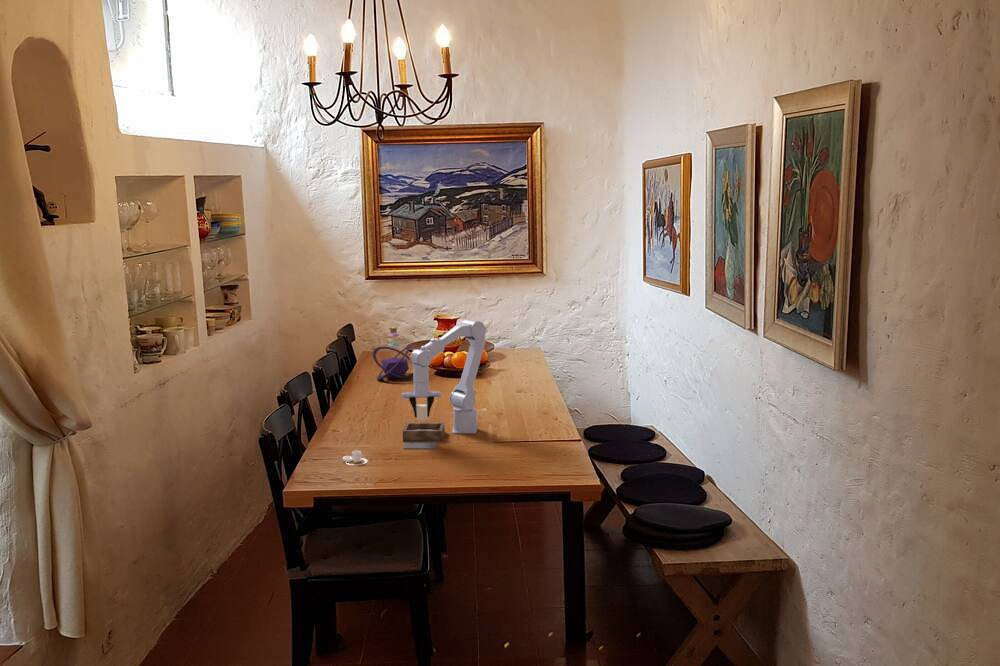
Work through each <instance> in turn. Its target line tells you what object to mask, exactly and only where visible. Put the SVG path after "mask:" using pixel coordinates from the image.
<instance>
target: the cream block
mask: <svg viewBox="0 0 1000 666" xmlns="http://www.w3.org/2000/svg"><path fill="white" fill-rule="evenodd" d="M416 412H417V417H415V418H416V421H428V416H427V403H426V404H423V403H422V404H421V403H420V404H416Z"/></svg>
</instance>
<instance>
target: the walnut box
mask: <svg viewBox="0 0 1000 666" xmlns="http://www.w3.org/2000/svg"><path fill="white" fill-rule="evenodd" d="M445 424H446V423H445V422H405V424H404V427H403V429H402V441H403V442H443V439H444V436H445V434H446V429H445V428H446V427H445Z"/></svg>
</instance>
